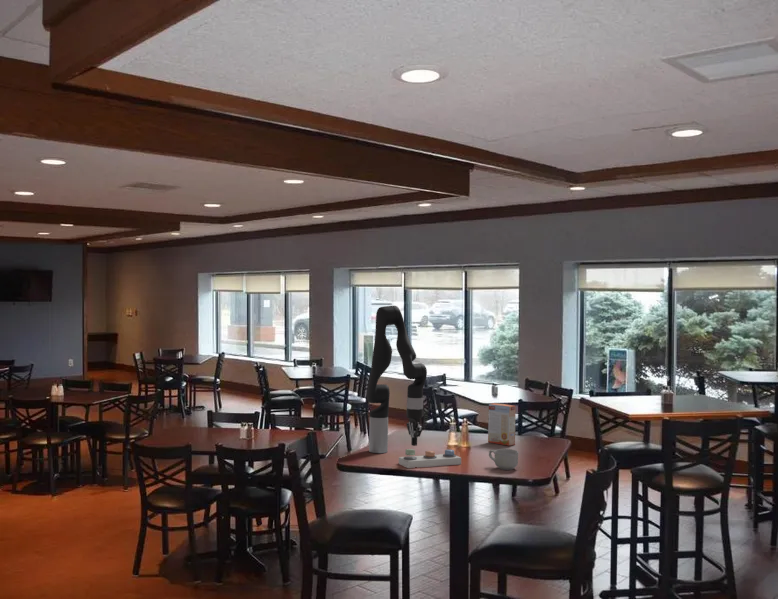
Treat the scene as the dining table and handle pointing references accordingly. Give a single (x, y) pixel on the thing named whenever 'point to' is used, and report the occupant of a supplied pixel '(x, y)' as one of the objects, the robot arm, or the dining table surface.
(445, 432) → the dining table surface
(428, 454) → the terracotta button
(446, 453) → the slate button
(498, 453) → the teacup
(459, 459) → the button panel
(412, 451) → the sage button
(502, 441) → the cracker box
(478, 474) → the dining table surface
